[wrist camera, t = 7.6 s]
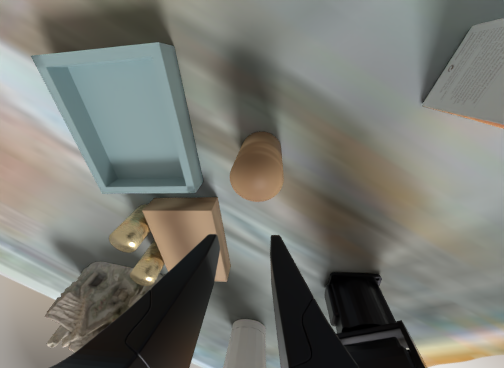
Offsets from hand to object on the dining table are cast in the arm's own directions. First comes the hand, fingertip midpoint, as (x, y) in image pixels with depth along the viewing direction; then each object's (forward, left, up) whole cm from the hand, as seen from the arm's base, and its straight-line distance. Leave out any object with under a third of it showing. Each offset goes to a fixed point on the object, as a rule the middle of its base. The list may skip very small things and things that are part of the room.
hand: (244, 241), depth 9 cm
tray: (+12, -3, -12) cm, 17 cm away
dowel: (0, 0, -12) cm, 12 cm away
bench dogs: (+15, +11, -12) cm, 22 cm away
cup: (+4, +35, -12) cm, 37 cm away
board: (+9, +12, -13) cm, 19 cm away
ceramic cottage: (+23, +24, -13) cm, 36 cm away
